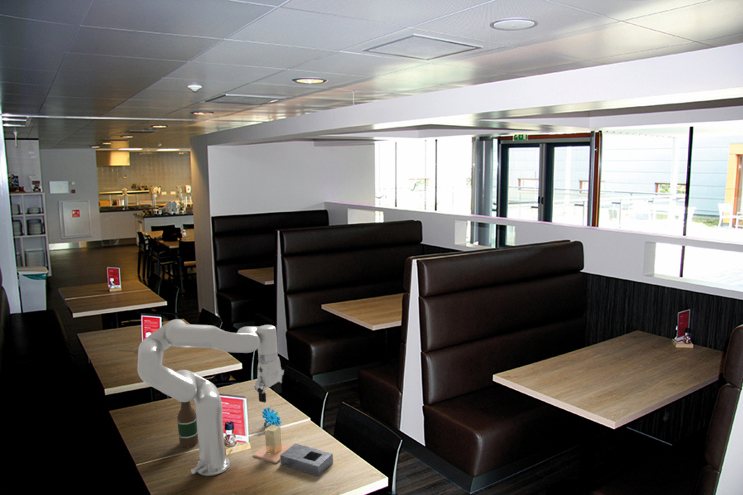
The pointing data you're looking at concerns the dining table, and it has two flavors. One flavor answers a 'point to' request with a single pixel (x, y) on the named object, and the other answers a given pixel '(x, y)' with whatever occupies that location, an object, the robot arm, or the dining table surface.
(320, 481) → the dining table surface
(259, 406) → the dining table surface
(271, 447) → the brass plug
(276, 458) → the terracotta tile
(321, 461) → the grey block with hole
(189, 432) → the beer bottle
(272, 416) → the gear
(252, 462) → the dining table surface
